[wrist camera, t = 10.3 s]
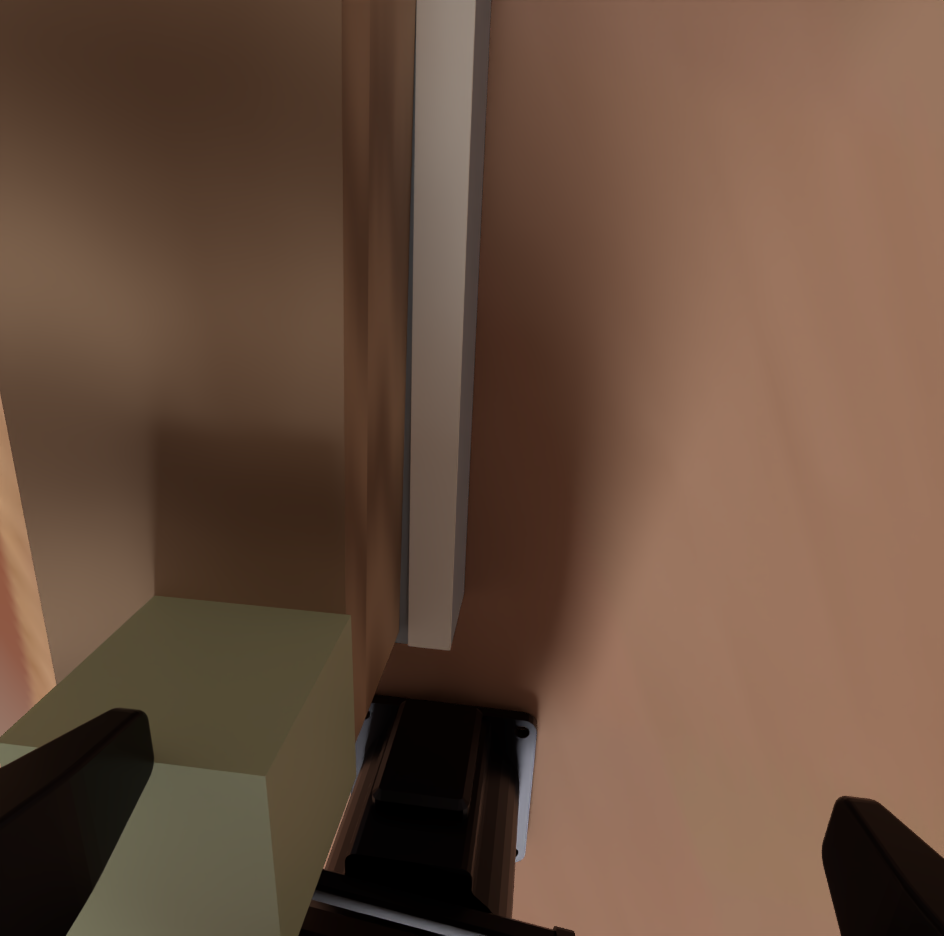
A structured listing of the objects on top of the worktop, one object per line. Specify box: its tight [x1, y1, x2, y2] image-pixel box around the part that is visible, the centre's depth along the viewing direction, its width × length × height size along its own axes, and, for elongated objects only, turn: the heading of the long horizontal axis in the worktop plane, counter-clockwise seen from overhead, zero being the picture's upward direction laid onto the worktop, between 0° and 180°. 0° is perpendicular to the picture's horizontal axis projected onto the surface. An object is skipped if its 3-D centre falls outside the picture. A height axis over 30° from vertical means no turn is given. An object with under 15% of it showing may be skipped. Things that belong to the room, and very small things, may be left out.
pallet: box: [0, 0, 416, 743], centre depth 12 cm, size 24×6×5 cm, turn 177°
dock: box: [395, 0, 491, 651], centre depth 16 cm, size 25×9×3 cm, turn 178°
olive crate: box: [0, 596, 356, 936], centre depth 12 cm, size 4×4×4 cm
